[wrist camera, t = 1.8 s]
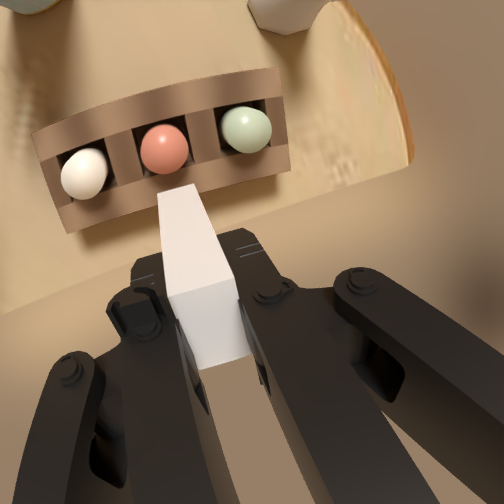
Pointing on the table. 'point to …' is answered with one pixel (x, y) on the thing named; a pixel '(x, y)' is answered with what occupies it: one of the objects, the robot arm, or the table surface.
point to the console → (189, 123)
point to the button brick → (164, 148)
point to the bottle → (28, 5)
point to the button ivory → (85, 172)
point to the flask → (285, 14)
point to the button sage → (245, 128)
